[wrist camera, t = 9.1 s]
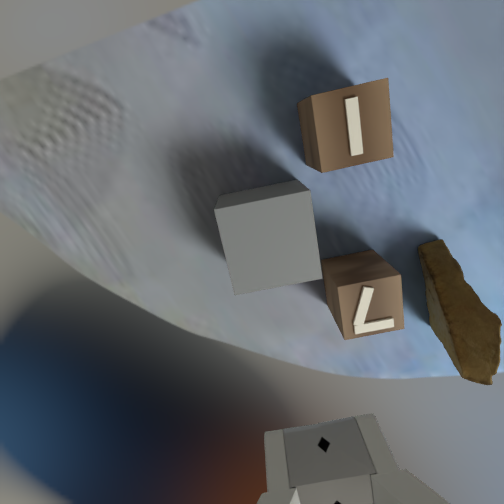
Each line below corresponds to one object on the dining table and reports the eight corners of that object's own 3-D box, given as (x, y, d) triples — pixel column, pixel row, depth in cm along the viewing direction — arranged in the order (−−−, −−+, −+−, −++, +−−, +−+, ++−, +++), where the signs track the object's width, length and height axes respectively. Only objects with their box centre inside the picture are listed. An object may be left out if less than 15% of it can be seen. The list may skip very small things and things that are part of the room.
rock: (401, 238, 29) (381, 344, 31) (523, 261, 22) (488, 393, 24) (449, 235, 36) (431, 322, 38) (554, 252, 29) (524, 355, 31)
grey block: (297, 179, 29) (310, 190, 24) (308, 252, 32) (322, 278, 26) (219, 195, 30) (214, 209, 24) (236, 266, 32) (234, 295, 26)
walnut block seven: (372, 249, 32) (402, 275, 26) (376, 295, 33) (405, 329, 27) (320, 259, 32) (338, 288, 26) (327, 305, 34) (345, 341, 28)
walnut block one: (357, 89, 27) (389, 77, 21) (363, 152, 29) (394, 157, 23) (296, 103, 27) (311, 95, 21) (306, 165, 29) (322, 173, 23)
